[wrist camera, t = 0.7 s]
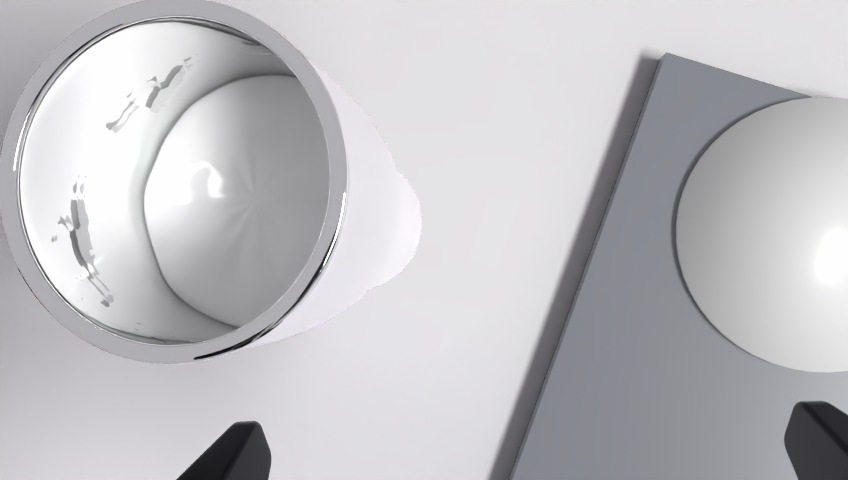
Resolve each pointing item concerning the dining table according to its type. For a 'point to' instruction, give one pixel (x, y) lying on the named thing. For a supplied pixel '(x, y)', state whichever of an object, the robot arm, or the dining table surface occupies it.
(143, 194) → the beer glass
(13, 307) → the dining table surface
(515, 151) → the dining table surface
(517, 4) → the dining table surface
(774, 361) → the base plate
